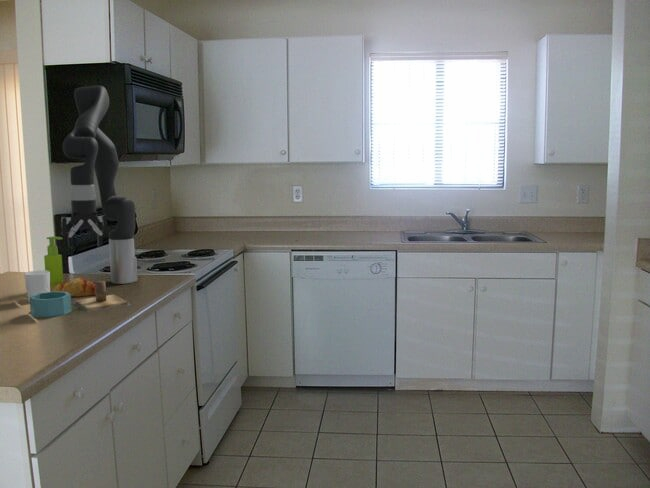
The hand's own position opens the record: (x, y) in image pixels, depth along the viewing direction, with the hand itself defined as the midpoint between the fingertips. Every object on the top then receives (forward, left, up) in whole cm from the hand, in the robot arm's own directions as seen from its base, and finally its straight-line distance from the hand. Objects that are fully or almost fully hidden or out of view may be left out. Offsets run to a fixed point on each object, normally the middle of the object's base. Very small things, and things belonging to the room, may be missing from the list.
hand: (85, 247), depth 202 cm
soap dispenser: (+3, -29, -20) cm, 35 cm away
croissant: (-1, -17, -20) cm, 26 cm away
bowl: (+13, +4, -20) cm, 24 cm away
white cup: (+12, -16, -20) cm, 28 cm away
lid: (-3, +3, -19) cm, 19 cm away
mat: (-3, +3, -20) cm, 20 cm away
